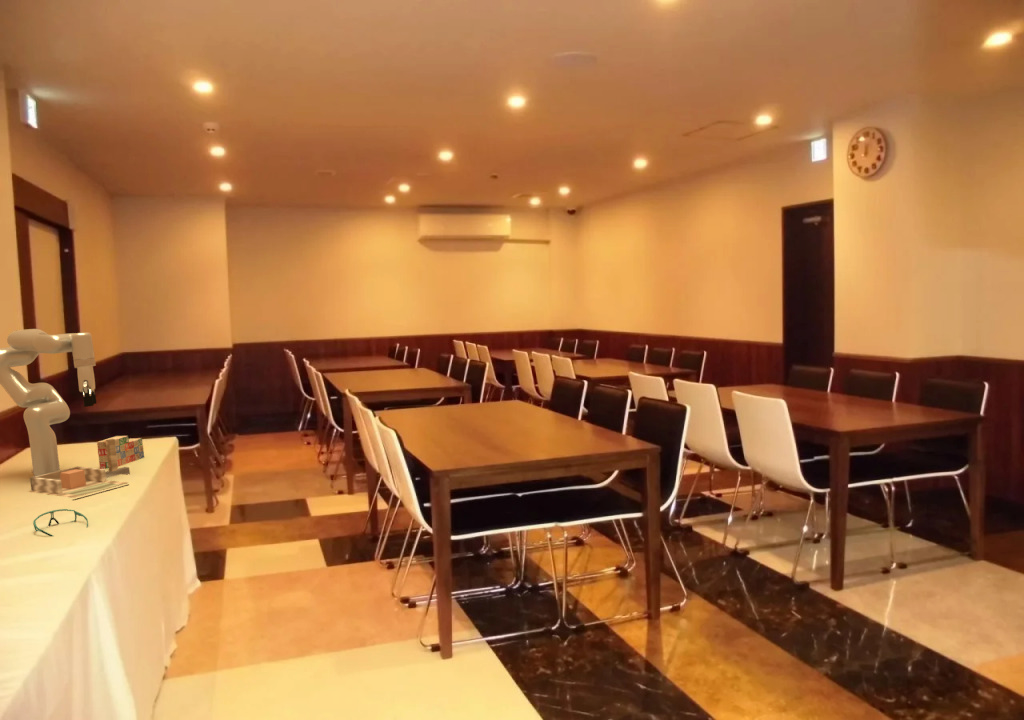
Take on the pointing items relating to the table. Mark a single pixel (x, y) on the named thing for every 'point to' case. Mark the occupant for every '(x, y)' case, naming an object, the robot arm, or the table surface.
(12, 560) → the table surface
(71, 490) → the cubby
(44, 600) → the table surface
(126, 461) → the stack of blocks
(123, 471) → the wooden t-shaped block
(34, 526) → the sunglasses
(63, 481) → the block
